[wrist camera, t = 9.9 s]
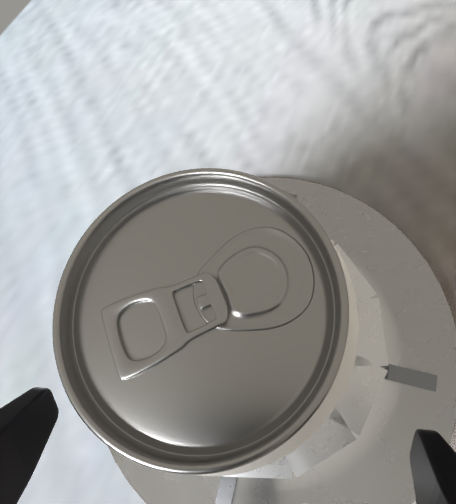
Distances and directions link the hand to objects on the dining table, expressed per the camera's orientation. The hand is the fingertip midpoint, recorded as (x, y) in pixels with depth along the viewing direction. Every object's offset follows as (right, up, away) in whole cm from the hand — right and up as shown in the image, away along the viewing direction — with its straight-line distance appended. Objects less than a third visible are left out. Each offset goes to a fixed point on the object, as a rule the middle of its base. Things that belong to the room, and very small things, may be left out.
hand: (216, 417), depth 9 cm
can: (+2, -1, +9) cm, 9 cm away
